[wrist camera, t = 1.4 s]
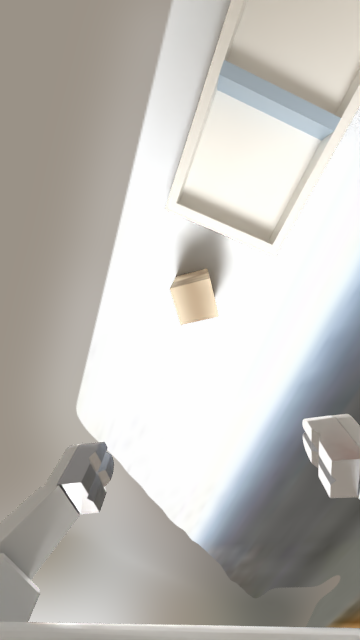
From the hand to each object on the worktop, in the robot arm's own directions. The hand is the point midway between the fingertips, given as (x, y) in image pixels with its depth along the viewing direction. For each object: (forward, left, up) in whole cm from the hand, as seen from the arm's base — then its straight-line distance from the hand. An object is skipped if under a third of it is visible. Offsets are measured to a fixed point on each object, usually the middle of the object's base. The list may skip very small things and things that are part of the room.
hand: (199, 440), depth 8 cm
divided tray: (-17, -12, -23) cm, 31 cm away
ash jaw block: (0, -1, -23) cm, 23 cm away
